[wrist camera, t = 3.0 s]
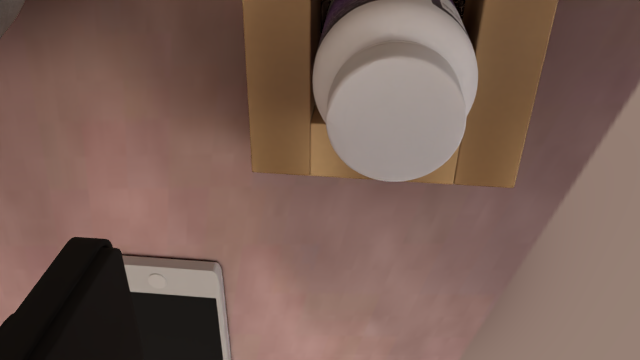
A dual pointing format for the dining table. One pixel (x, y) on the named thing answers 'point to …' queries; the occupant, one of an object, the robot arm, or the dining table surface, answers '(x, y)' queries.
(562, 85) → the dining table surface
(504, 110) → the frame
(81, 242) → the robot arm
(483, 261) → the dining table surface
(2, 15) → the planter
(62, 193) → the dining table surface
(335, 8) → the pill bottle
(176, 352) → the smartphone
